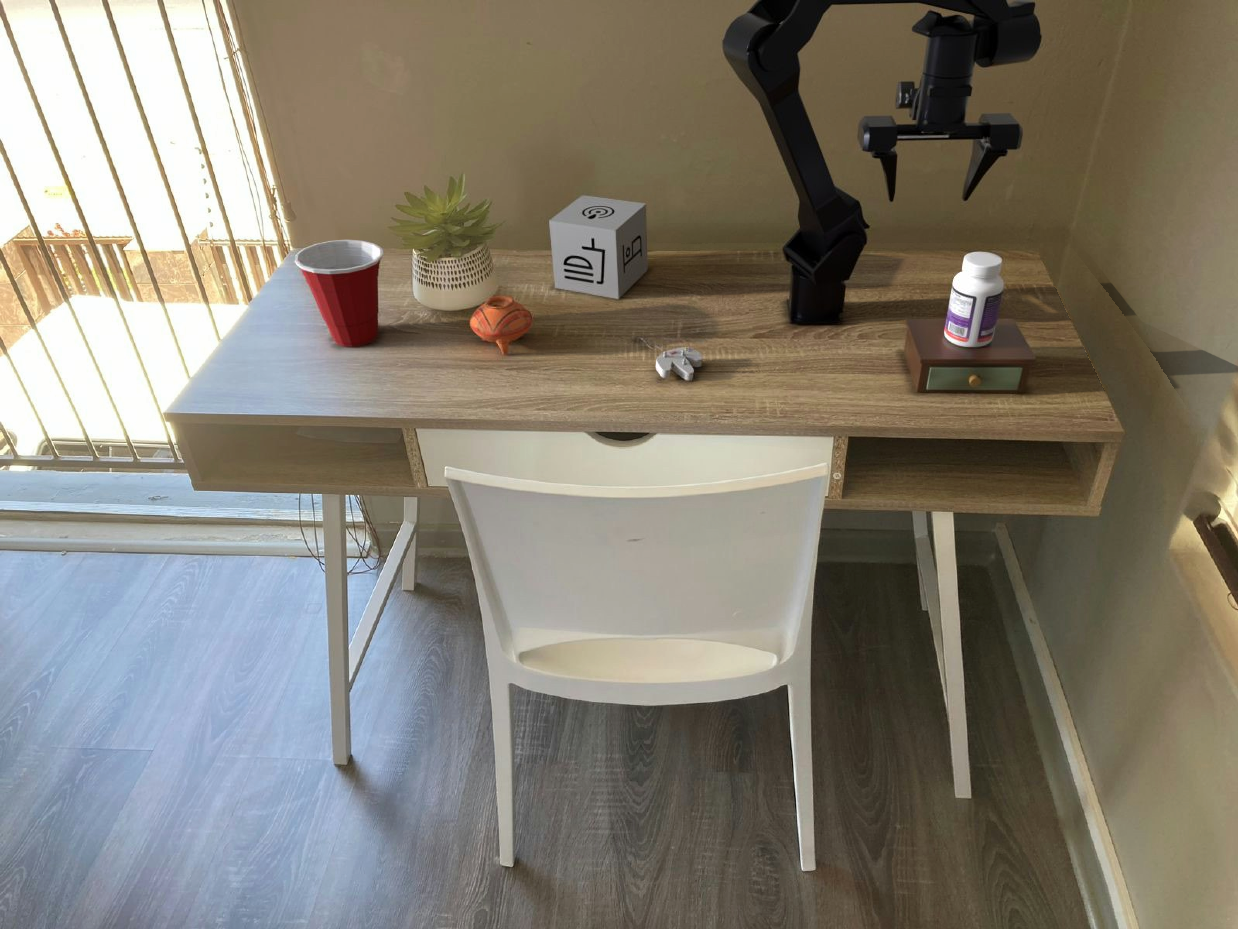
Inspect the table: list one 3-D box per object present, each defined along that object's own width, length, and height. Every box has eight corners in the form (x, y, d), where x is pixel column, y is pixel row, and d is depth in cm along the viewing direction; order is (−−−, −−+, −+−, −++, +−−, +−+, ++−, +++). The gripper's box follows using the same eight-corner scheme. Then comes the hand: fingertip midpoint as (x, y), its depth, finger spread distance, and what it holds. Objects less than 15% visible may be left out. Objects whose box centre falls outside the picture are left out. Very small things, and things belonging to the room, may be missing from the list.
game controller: (681, 388, 111) (681, 368, 110) (608, 359, 118) (607, 340, 116) (710, 368, 115) (710, 349, 113) (638, 341, 121) (637, 322, 119)
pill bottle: (987, 326, 111) (1003, 248, 105) (997, 349, 106) (1014, 269, 101) (939, 325, 111) (953, 248, 106) (947, 348, 107) (962, 269, 101)
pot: (461, 355, 119) (457, 302, 116) (487, 340, 126) (484, 289, 123) (519, 361, 117) (517, 307, 114) (543, 344, 124) (541, 293, 121)
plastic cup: (415, 333, 125) (399, 248, 118) (346, 365, 119) (325, 278, 112) (368, 309, 131) (350, 227, 124) (300, 339, 125) (277, 254, 118)
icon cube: (618, 298, 131) (615, 230, 125) (555, 287, 134) (549, 220, 128) (647, 269, 138) (646, 203, 132) (586, 260, 141) (582, 195, 136)
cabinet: (915, 397, 108) (921, 362, 105) (900, 352, 116) (905, 318, 113) (1029, 397, 107) (1038, 362, 104) (1006, 352, 115) (1013, 318, 112)
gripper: (1011, 53, 117) (987, 177, 126) (858, 57, 119) (845, 179, 128) (1036, 77, 108) (1008, 208, 118) (870, 81, 110) (856, 210, 119)
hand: (927, 200), depth 121 cm, fingers open, 9 cm apart
